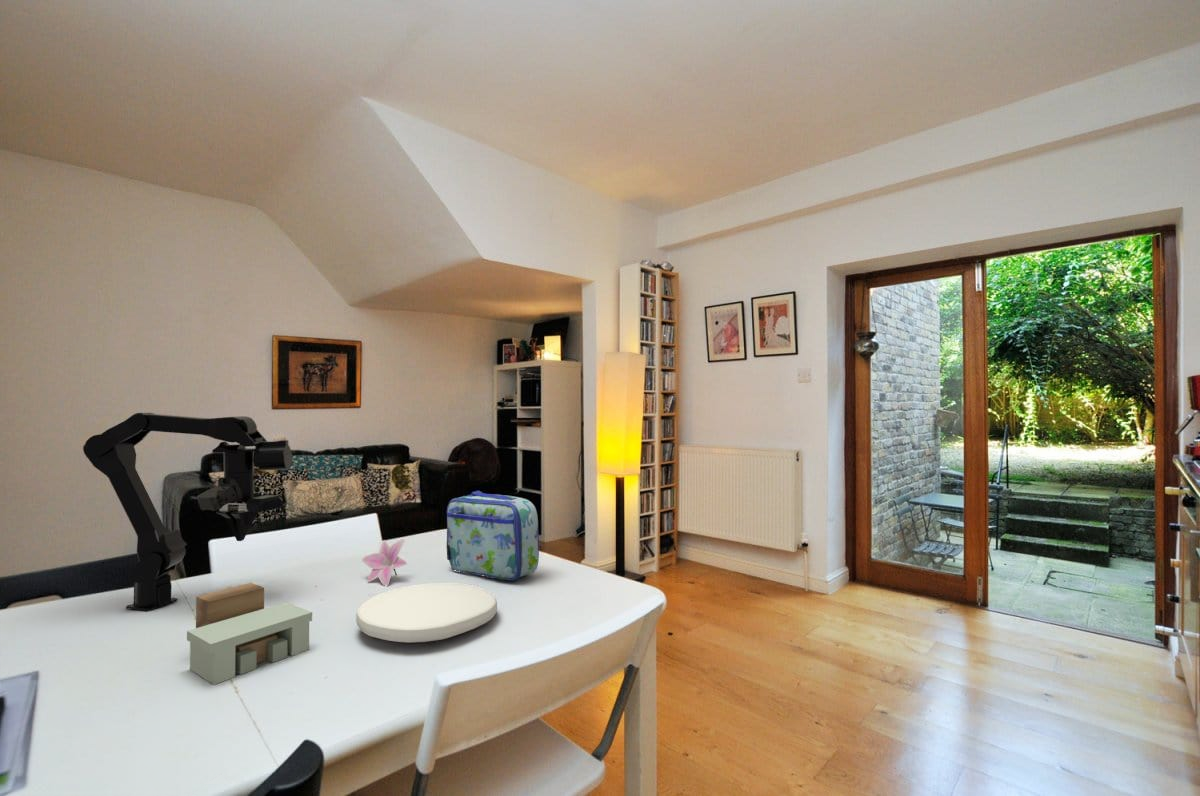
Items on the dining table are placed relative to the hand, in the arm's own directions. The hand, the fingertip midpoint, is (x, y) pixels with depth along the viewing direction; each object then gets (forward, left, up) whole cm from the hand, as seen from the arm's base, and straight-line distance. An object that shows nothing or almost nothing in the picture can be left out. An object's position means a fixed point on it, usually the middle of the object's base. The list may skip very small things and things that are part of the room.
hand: (240, 540), depth 124 cm
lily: (+23, +20, -14) cm, 34 cm away
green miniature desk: (+28, -23, -13) cm, 38 cm away
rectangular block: (+24, -22, -13) cm, 35 cm away
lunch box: (+47, +31, -13) cm, 58 cm away
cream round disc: (+49, -2, -14) cm, 51 cm away
